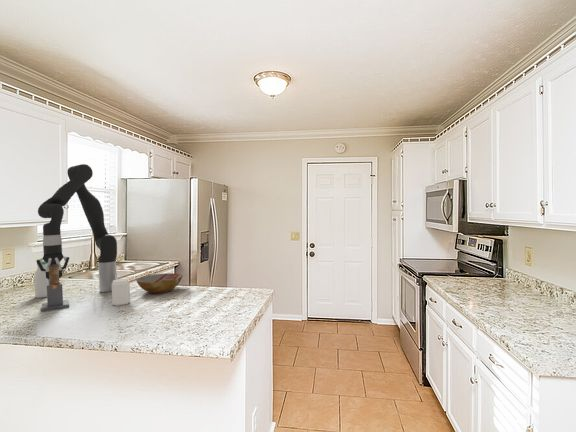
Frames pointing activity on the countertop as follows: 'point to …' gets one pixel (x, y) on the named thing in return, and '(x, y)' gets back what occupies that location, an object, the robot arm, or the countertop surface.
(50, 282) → the walnut post
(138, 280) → the bowl
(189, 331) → the countertop surface
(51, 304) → the stand sleeve
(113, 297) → the white upright block
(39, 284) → the milk bottle
